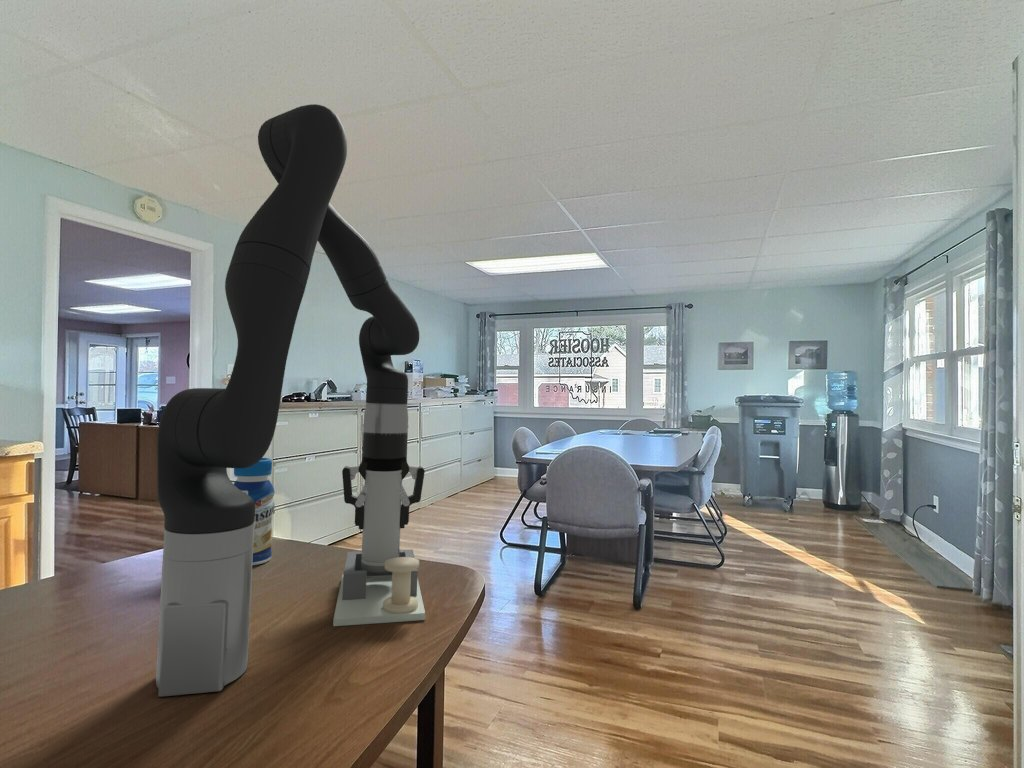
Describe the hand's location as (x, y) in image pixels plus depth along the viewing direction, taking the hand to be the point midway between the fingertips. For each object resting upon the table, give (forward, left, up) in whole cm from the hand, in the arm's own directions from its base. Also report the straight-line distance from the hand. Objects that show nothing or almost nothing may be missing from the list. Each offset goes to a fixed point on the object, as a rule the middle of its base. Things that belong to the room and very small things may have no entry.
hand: (381, 527), depth 90 cm
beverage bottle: (+20, +25, -11) cm, 34 cm away
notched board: (-4, 0, -11) cm, 11 cm away
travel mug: (0, 0, -7) cm, 7 cm away
